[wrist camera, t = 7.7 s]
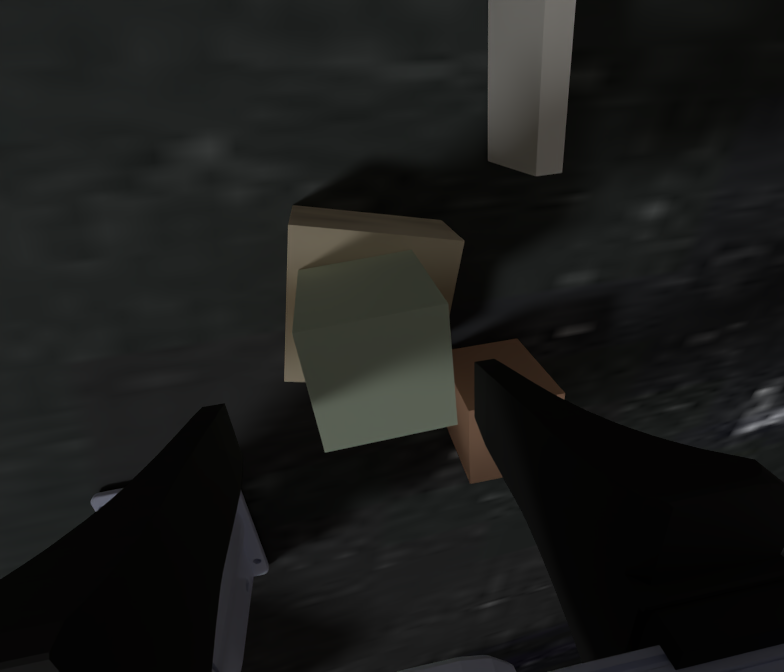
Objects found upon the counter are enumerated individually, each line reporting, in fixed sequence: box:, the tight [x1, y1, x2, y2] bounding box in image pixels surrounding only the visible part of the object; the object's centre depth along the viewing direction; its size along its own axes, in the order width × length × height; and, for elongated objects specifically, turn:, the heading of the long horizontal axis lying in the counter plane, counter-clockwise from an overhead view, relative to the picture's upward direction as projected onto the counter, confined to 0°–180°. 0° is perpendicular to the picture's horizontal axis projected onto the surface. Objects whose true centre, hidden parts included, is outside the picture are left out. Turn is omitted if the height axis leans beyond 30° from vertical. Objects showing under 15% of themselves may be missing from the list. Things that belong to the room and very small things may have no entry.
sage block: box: [292, 250, 458, 453], centre depth 16 cm, size 5×5×6 cm
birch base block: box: [284, 205, 465, 382], centre depth 21 cm, size 7×7×4 cm
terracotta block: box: [447, 339, 565, 484], centre depth 24 cm, size 5×5×6 cm
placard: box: [488, 0, 576, 176], centre depth 17 cm, size 6×1×5 cm, turn 6°
